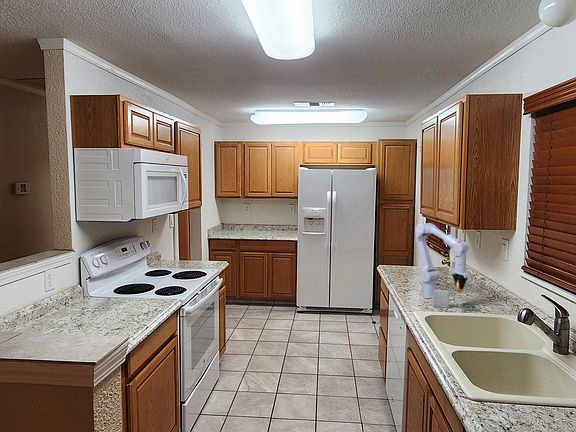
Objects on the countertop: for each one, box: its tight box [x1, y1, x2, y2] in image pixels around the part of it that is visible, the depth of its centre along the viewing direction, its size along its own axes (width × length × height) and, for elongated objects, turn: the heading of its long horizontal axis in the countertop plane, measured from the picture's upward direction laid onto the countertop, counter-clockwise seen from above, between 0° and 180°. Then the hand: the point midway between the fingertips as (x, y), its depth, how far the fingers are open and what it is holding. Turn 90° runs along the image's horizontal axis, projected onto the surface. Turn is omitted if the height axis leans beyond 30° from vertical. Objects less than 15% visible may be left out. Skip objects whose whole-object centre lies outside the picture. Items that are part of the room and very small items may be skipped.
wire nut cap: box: [455, 280, 464, 293], centre depth 216 cm, size 3×3×6 cm
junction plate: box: [455, 302, 482, 312], centre depth 211 cm, size 10×9×2 cm
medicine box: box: [432, 289, 450, 309], centre depth 213 cm, size 8×4×9 cm, turn 74°
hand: (459, 288), depth 216 cm, fingers closed on wire nut cap, 3 cm apart
